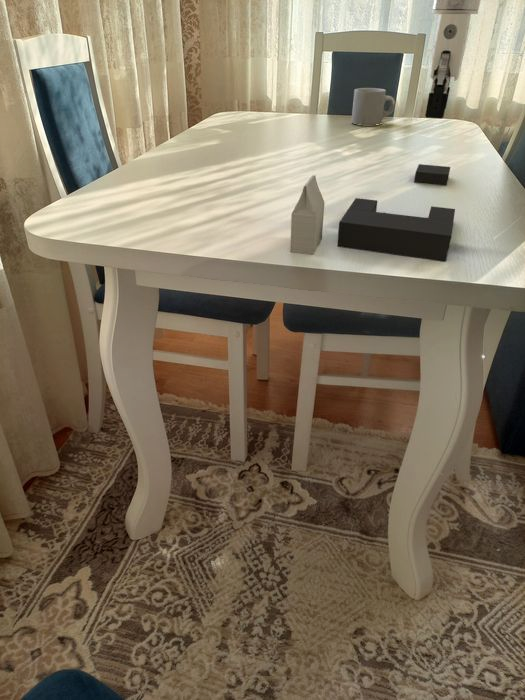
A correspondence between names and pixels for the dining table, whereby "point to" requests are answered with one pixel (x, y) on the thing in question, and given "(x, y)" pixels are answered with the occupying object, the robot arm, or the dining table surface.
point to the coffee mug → (370, 106)
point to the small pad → (432, 174)
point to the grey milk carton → (307, 219)
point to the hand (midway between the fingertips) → (435, 113)
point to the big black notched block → (396, 231)
